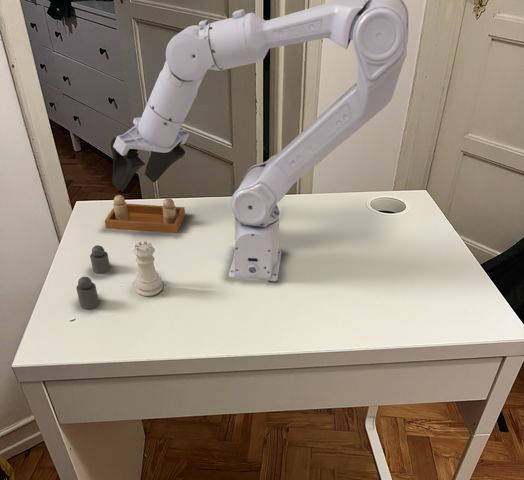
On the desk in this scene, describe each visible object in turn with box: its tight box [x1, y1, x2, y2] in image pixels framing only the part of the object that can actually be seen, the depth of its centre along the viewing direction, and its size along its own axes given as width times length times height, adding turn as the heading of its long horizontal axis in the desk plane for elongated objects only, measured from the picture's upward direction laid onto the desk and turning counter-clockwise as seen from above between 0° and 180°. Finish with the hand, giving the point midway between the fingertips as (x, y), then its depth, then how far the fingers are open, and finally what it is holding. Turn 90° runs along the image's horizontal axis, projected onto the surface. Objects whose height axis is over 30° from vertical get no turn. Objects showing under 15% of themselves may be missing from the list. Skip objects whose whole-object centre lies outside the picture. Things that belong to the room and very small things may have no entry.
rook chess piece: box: [132, 240, 164, 297], centre depth 87 cm, size 4×4×8 cm
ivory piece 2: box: [162, 197, 177, 224], centre depth 104 cm, size 2×2×5 cm
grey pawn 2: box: [89, 244, 111, 275], centre depth 92 cm, size 3×3×5 cm
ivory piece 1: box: [112, 194, 129, 221], centre depth 105 cm, size 2×2×5 cm
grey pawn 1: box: [75, 276, 100, 310], centre depth 85 cm, size 3×3×5 cm
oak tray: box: [104, 203, 186, 234], centre depth 105 cm, size 7×13×2 cm, turn 84°
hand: (134, 182), depth 91 cm, fingers open, 7 cm apart
